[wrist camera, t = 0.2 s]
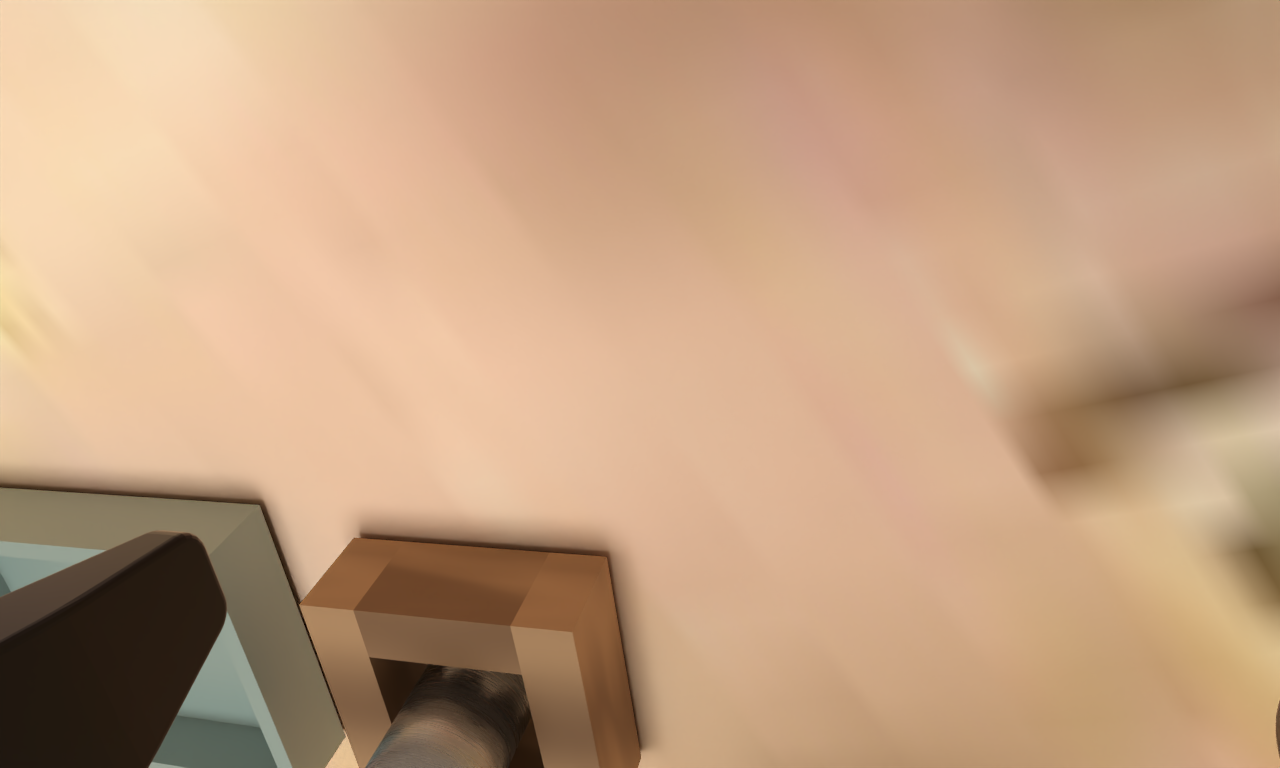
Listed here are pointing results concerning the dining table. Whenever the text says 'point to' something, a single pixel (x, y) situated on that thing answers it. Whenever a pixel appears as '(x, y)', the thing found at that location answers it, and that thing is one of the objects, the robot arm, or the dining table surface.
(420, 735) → the pin
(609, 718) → the socket block
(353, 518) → the dining table surface
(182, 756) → the tray
